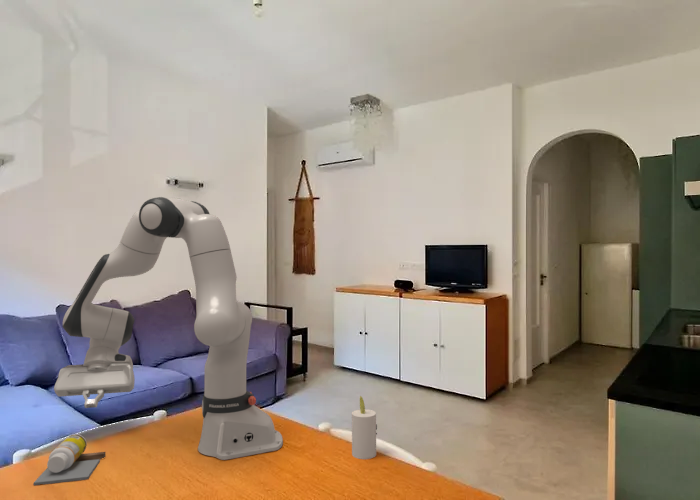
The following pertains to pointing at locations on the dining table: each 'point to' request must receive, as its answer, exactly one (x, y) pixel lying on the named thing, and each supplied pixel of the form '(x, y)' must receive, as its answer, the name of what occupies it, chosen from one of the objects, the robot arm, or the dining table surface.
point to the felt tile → (69, 473)
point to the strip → (91, 456)
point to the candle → (364, 432)
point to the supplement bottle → (66, 453)
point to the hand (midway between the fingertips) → (90, 406)
